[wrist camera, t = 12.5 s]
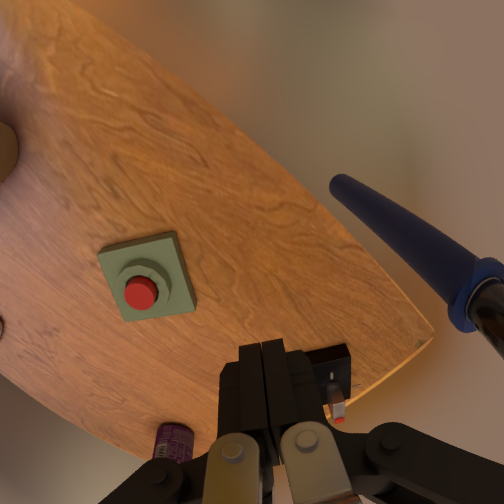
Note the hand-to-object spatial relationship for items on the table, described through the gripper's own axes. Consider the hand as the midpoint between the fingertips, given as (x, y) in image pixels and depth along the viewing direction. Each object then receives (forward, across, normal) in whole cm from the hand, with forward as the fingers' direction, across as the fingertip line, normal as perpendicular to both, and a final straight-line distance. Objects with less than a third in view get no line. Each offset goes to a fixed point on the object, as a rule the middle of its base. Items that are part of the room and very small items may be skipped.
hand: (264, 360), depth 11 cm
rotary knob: (+24, -7, +32) cm, 41 cm away
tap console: (+27, -6, +31) cm, 41 cm away
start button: (+23, +14, +8) cm, 28 cm away
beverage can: (+27, +22, +41) cm, 54 cm away
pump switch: (+27, +14, +8) cm, 31 cm away
